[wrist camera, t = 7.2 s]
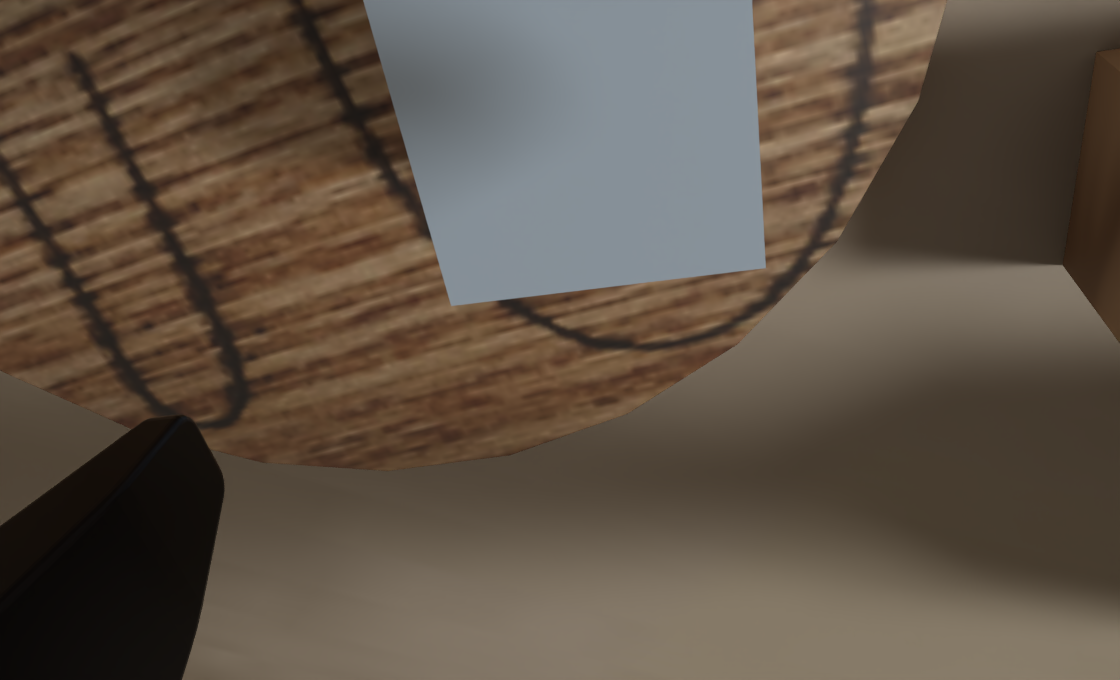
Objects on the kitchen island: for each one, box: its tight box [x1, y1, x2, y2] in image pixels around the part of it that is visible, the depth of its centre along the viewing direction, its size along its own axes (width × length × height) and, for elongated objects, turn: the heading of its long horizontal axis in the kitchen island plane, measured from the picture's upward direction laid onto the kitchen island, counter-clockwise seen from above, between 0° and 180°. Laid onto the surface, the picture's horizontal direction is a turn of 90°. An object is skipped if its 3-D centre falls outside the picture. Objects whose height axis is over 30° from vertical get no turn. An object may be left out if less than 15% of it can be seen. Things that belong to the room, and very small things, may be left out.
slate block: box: [363, 0, 766, 306], centre depth 15 cm, size 5×5×5 cm
